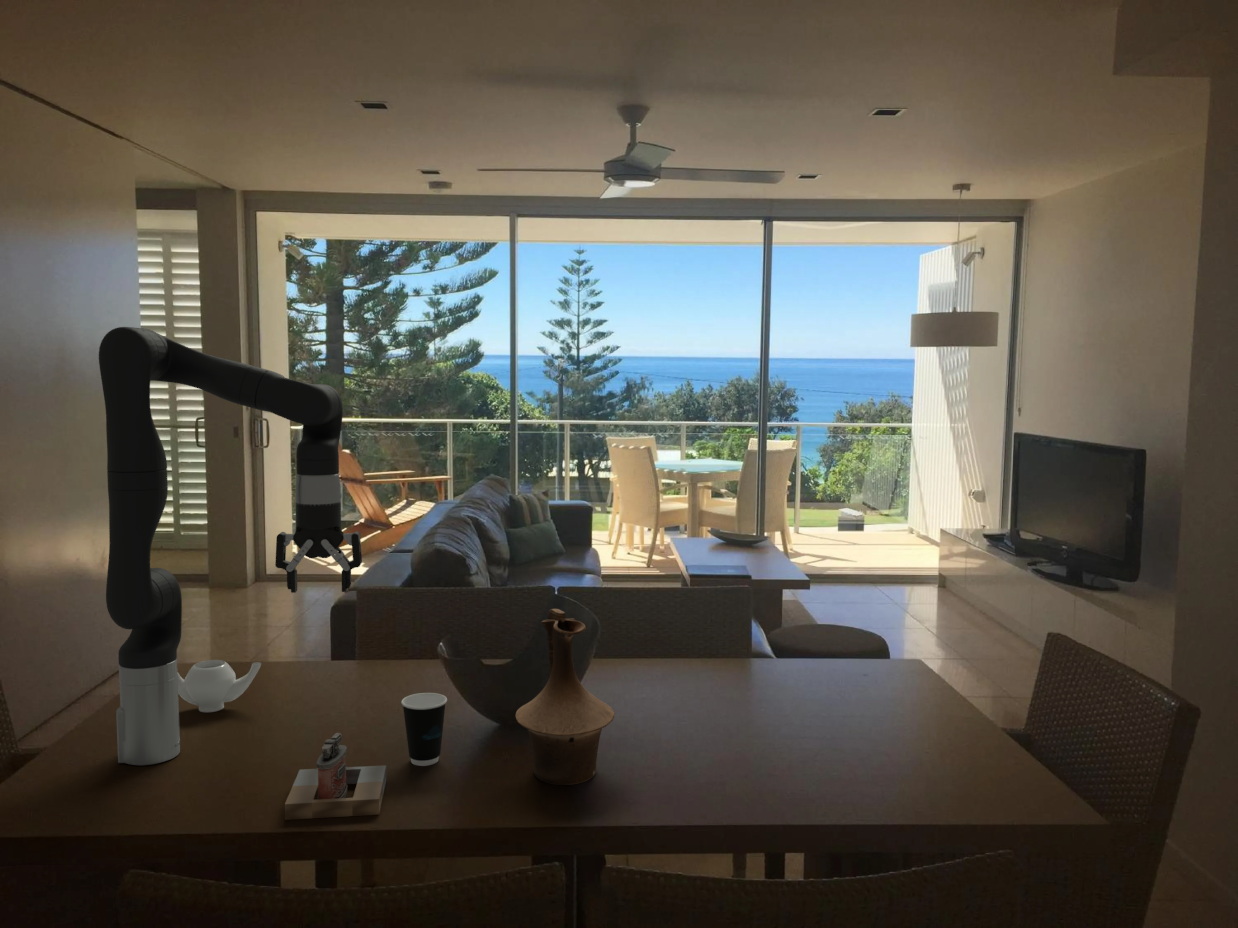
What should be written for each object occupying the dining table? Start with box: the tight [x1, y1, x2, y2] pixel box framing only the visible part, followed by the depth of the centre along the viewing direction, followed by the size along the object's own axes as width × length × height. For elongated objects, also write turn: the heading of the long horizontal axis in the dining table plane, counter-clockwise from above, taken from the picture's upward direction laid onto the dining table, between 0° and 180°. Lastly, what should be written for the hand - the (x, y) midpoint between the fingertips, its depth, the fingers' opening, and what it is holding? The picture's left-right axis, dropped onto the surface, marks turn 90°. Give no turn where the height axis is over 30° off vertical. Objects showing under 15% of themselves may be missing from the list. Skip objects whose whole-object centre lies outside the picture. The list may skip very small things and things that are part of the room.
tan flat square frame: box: [284, 764, 387, 821], centre depth 155 cm, size 14×13×2 cm
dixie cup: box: [401, 692, 448, 767], centre depth 171 cm, size 8×8×11 cm
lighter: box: [316, 732, 348, 799], centre depth 155 cm, size 8×3×10 cm, turn 175°
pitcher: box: [515, 608, 615, 786], centre depth 165 cm, size 18×17×28 cm
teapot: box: [177, 659, 262, 713], centre depth 196 cm, size 10×20×9 cm, turn 95°
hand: (319, 591), depth 169 cm, fingers open, 8 cm apart
